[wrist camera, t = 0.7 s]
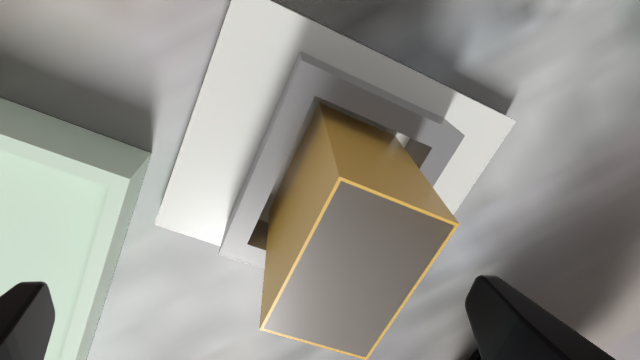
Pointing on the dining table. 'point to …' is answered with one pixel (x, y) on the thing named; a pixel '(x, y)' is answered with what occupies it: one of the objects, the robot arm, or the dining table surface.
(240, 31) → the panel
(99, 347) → the dining table surface
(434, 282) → the dining table surface
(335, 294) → the tan rectangular block
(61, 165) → the parts tray
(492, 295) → the robot arm
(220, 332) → the dining table surface
